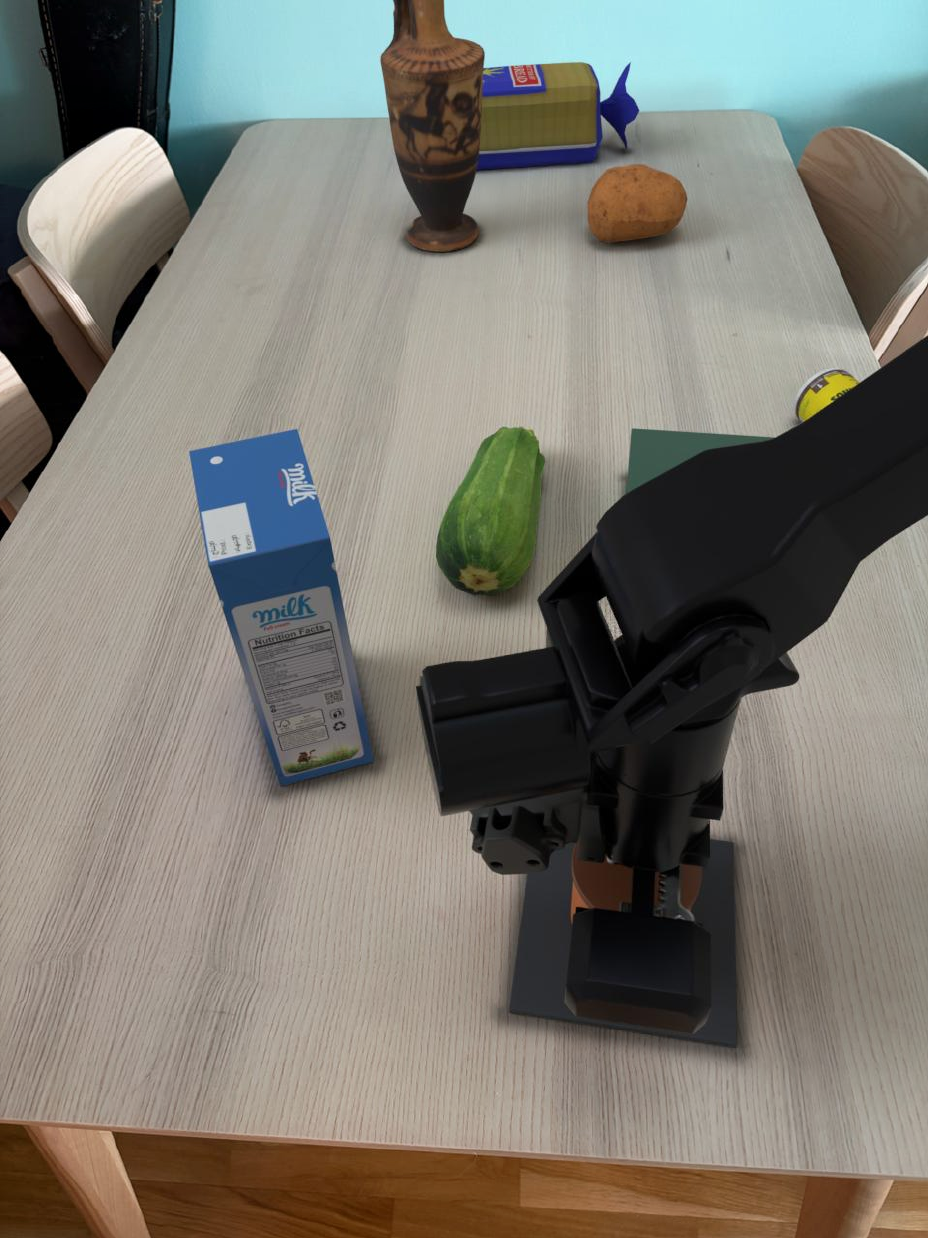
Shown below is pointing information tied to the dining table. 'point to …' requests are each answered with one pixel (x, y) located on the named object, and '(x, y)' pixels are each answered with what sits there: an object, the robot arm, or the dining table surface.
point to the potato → (635, 203)
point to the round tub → (621, 885)
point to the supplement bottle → (822, 391)
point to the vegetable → (493, 515)
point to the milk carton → (282, 602)
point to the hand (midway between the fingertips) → (631, 906)
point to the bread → (548, 114)
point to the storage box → (671, 450)
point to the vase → (434, 120)
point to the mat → (550, 935)
